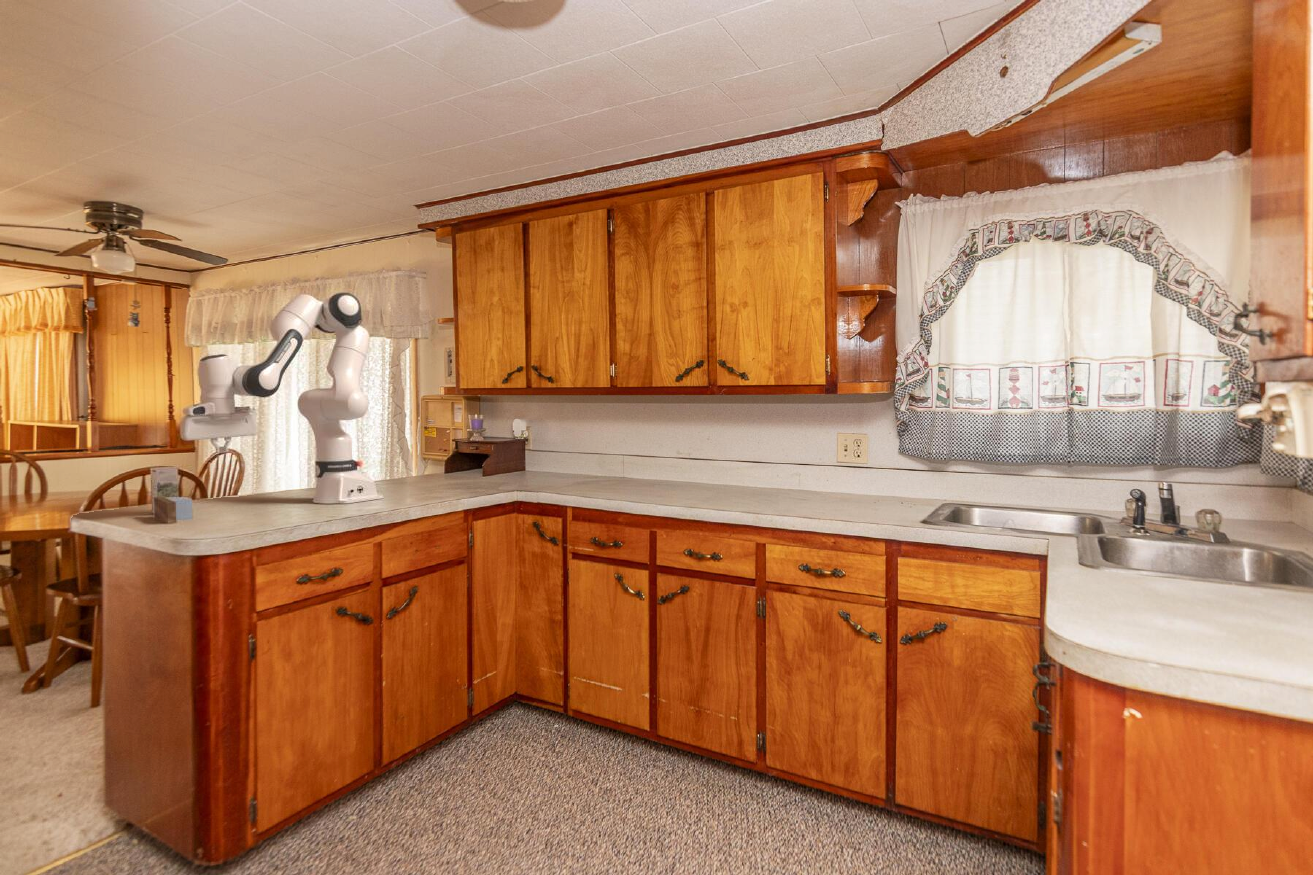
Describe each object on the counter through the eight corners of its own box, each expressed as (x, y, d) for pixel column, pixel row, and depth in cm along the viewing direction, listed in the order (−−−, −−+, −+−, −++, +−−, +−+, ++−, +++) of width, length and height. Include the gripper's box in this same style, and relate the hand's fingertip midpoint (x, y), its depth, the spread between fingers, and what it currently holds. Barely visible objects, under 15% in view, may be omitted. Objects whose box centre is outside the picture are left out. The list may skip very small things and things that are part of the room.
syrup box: (173, 511, 217) (171, 465, 216) (179, 513, 213) (177, 466, 212) (151, 513, 212) (149, 466, 211) (157, 515, 209) (155, 468, 208)
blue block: (186, 516, 208) (185, 496, 207) (192, 519, 203) (192, 498, 203) (166, 518, 204) (165, 498, 204) (172, 521, 199) (171, 500, 199)
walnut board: (162, 516, 207) (161, 496, 207) (176, 522, 196) (175, 502, 196) (154, 517, 206) (153, 497, 205) (168, 523, 195) (167, 502, 194)
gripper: (252, 405, 219) (255, 448, 221) (176, 409, 204) (180, 455, 206) (259, 406, 215) (262, 449, 217) (182, 410, 200) (186, 456, 202)
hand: (222, 452), depth 211 cm, fingers closed
